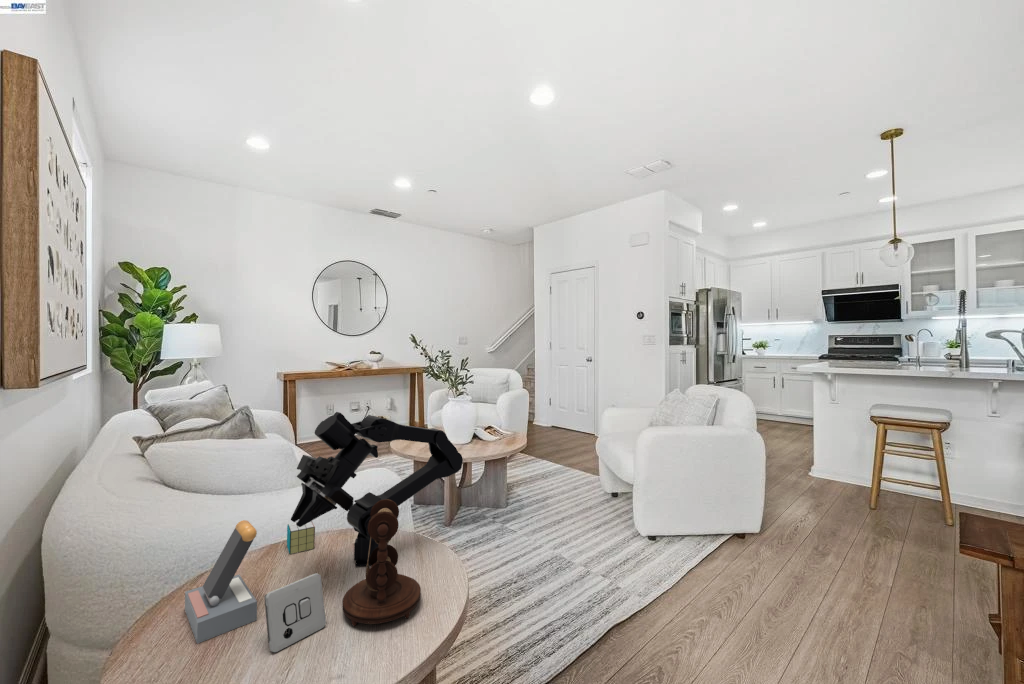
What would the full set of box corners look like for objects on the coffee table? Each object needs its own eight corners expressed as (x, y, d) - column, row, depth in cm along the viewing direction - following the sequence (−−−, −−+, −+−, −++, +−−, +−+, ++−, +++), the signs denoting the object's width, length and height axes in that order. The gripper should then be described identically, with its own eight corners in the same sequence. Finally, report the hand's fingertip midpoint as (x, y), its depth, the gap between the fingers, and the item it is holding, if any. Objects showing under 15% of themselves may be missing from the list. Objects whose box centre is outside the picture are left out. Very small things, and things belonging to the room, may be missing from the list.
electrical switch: (272, 656, 69) (271, 597, 70) (259, 645, 73) (258, 589, 73) (326, 627, 77) (325, 574, 77) (313, 618, 80) (312, 568, 81)
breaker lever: (212, 591, 82) (251, 520, 87) (220, 607, 77) (261, 530, 82) (197, 589, 80) (238, 517, 85) (205, 605, 75) (247, 528, 80)
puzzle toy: (286, 546, 108) (287, 523, 108) (310, 540, 111) (311, 518, 111) (289, 555, 103) (289, 531, 103) (314, 549, 106) (315, 526, 106)
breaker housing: (238, 591, 88) (239, 573, 88) (256, 620, 78) (257, 600, 78) (184, 609, 81) (185, 590, 81) (197, 643, 72) (197, 621, 72)
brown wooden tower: (347, 590, 88) (349, 495, 89) (419, 582, 92) (421, 490, 92) (336, 637, 74) (338, 523, 74) (421, 625, 78) (423, 516, 78)
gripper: (306, 434, 100) (252, 491, 92) (340, 448, 87) (280, 516, 79) (339, 461, 105) (290, 518, 97) (375, 478, 92) (322, 545, 84)
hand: (295, 523), depth 89 cm, fingers open, 3 cm apart
